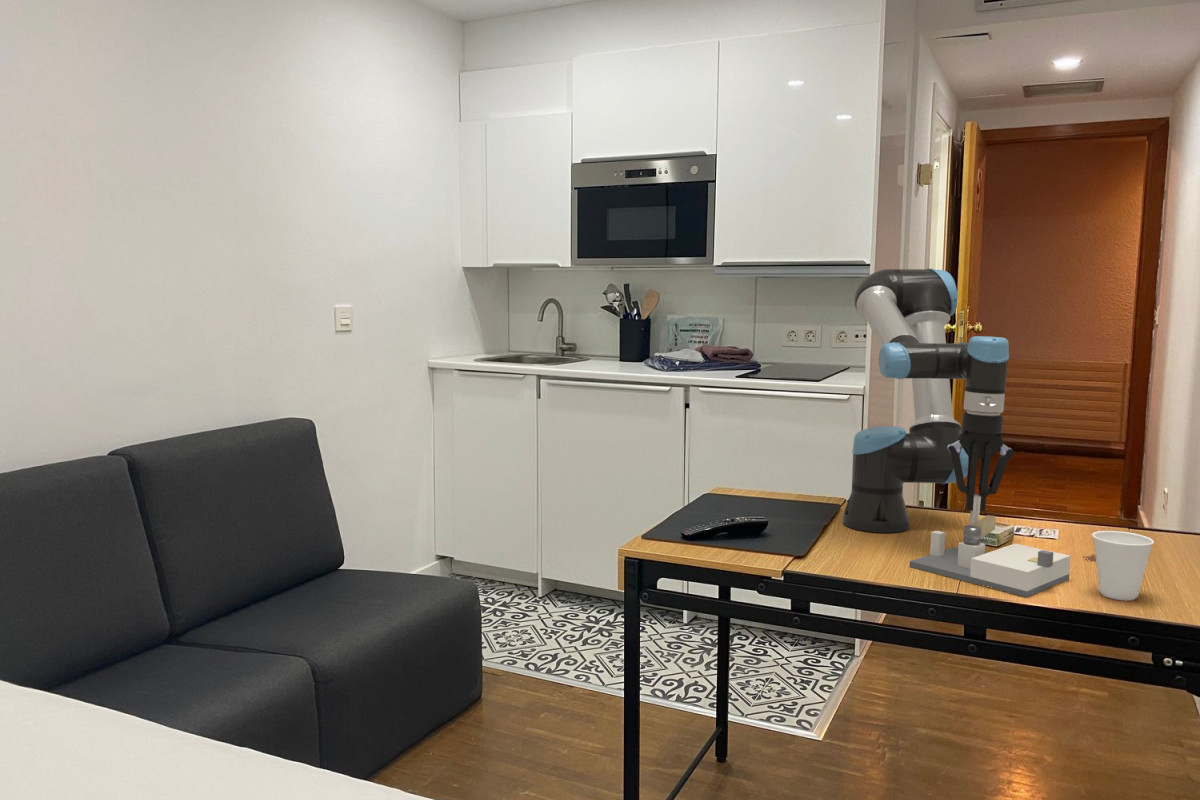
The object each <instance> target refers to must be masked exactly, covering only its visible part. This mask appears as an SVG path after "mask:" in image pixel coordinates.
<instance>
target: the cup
mask: <svg viewBox="0 0 1200 800" xmlns="http://www.w3.org/2000/svg"><path fill="white" fill-rule="evenodd" d="M1091 536H1092V538H1093V545H1094V553H1095V554H1094V555H1096V562H1095V563H1096V571H1097V576H1098V577H1097V578H1098V589H1099V593H1100V594H1101V595H1102V596H1103V597H1105V598H1109V599H1110V600H1117V601H1124V602H1125V601H1126V602H1127V601H1129V602H1130V601H1134V600H1136V599H1137V598H1139V594H1140V590H1141V586H1142V583H1143V579H1144V575H1145V572H1146V571H1145V570H1146V568H1147V563H1148V561H1149V559H1150V555H1151V551H1152V546H1153V545H1154V543H1155V541H1154V540H1153V539H1152V538H1151V537H1148V536H1145V535H1142V534H1139V533H1135V532H1134V533H1133V532H1128V531H1122V530H1098V531H1095V532H1093V533H1092V534H1091Z"/></svg>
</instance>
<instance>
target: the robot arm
mask: <svg viewBox="0 0 1200 800" xmlns="http://www.w3.org/2000/svg"><path fill="white" fill-rule="evenodd" d="M957 299H958V290H957V286H956V282H955V279H954V277H953V276H952V275H951V273H949V272H948V271H947V270H945V269H934V268H926V269H924V268H922V269H921V268H920V269H919V268H918V269H911V268H909V269H907V268H906V269H905V268H902V269H900V268H898V269H897V268H896V269H895V268H884V269H880V270H877V271H875V272H873V273H870V274H869V275H868V276H866V277H865V278H864V279H863V280H862V281H861V282H860V284H858V286H857V289H856V291H855V292H854V299H853V300H854V307H855V310H856V312H857V314H858V315H859V317H860V318H861V319H863V320H864V321H866V323H868V325H869V327H870V329H871V332H872V333H873V335H874V336H875V338H876V340H877V342H878V344H879V347H880V349H879V353H878V354H879V355H878V367H879V371H880V374H881V375H882V376H883V377H885V378H888V379H889V378H890V379H897V380H904V379H911V382H912V383H911V386H912V397H913V409H914V422H913V423H912V424H911V425H910V426H909V428H908V429H909V433H907V431H906V429H905V428H904V427H902V426H876V427H870V428H866V429H861V430H859V431H858V432H857V433H856V434H855V435H854V439H853V445H852V449H851V450H852V451H851V452H852V472H851V473H852V476H851V493H850V495H849V498H848V500H847V503H846V506H845V508H844V511H843V515H842V524H843V525H844V526H846V527H848V528H850V529H852V530H853V529H854V530H858V531H863V532H867V533H868V532H870V533H879V534H880V533H881V534H883V533H884V534H885V533H886V534H888V533H889V534H891V533H900V532H904V531H907V530H908V529H909V527H910V517H909V514H908V509H907V507H906V503H905V499H904V495H903V493H904V492H903V491H904V489H903V488H904V483H909V484H910V483H912V484H913V483H914V484H917V483H920V484H941V485H946V484H953V483H954V484H956V487H957V489H958V491H960V492H961V493H964V494H966V497H965V509H966V510H967V511H969V513H970V514H969V523H968V524H969V525H973V524H974V523H976V522H978V521H979V520H980V512H982V513H983V512H985V510H986V502H987V497H988V496H990V495H996V493H997V492H998V489H999V486H1000V484H1001V482H1002V478H1003V476H1004V473H1005V470H1006V468H1007V466H1008V465H1007V464H1008V462H1009V460H1010V459H1011V458H1012V457H1013V456H1014V454H1015V450H1014V449H1012V448H1011V447H1008V445H1006V444H1005V443H1004V439H1003V436H1002V433H1003V432H1002V431H1003V422H1004V416H1003V415H1002V413H1003V412H1004V411H1005V396H1006V395H1005V393H1006V385H1007V374H1008V365H1009V359H1010V353H1009V350H1010V349H1009V348H1010V347H1009V343H1010V342H1009V341H1008V339H1007V338H1005V337H1002V336H1001V337H998V336H985V335H984V336H982V335H980V336H979V335H978V336H977V335H976V336H971V337H970V339H969V341H968V342H964V341H963V342H958V343H947V341H946V339H947V338H946V328H945V326H946V325H948V323H949V322H950V320H951V316H953V315H954V314H955V312H956V311H957V308H958V307H957V306H958V300H957ZM950 380H965V385H964V386H965V387H964V390H965V391H964V399H963V400H964V401H963V410H965V412H964V413H963V415H962V423H960V422H958V421H957V420H955V418H954V413H953V403H952V393H951V382H950ZM961 424H962V426H961ZM998 451H999V454H1000V455H999V458H998V459H997V461H996V465H995V468H994V471H993V473H992V476H991V479H990V466H991V462H992V458H993V457H994V456H995V455H996V453H998ZM979 459H980V472H979V479H978V482H979V483H978V493H976V483H977V466H978V460H979ZM965 478H966V479H967V480H966V482H965ZM989 479H990V482H989Z"/></svg>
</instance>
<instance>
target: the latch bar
mask: <svg viewBox="0 0 1200 800" xmlns="http://www.w3.org/2000/svg"><path fill="white" fill-rule="evenodd" d="M996 517H997V516H995V515H989V514H987V515H986V516H984V517H982V518H981V519H979V521H978V522H976V523H974V524H973V525H963V538H962V540H963V541H962V542H965V543H968V544H980V543H982V539H984V537H987V535H989V534H990V533H992V532H993V531H995V529H996Z"/></svg>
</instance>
